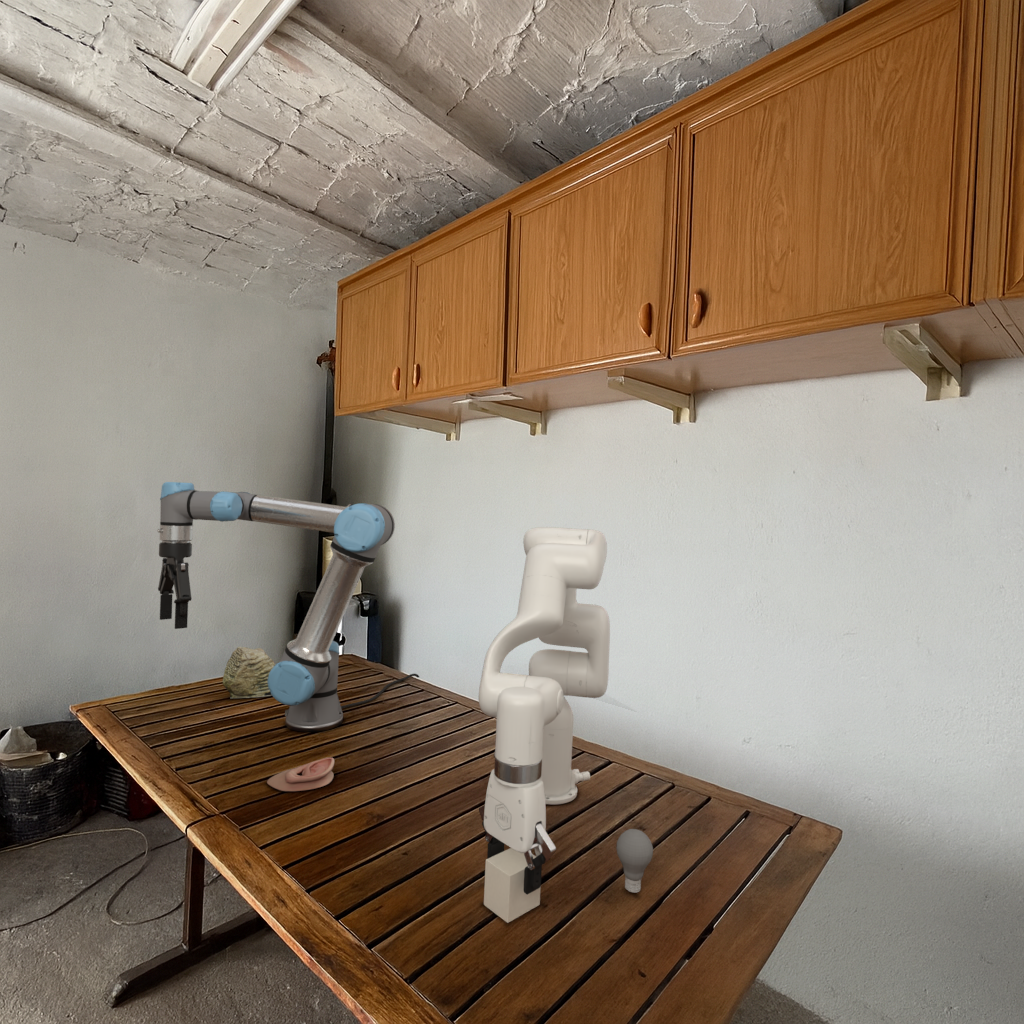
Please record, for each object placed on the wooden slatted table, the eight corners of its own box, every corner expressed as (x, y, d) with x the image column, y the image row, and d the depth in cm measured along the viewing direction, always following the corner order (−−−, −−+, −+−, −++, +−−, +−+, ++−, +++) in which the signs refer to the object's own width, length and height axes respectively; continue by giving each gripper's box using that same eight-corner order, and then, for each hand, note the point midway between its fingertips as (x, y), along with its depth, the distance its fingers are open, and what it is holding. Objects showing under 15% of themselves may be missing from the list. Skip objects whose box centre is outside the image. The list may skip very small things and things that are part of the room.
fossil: (218, 695, 195) (220, 647, 195) (278, 685, 208) (279, 640, 207) (228, 703, 189) (230, 653, 188) (289, 692, 201) (290, 645, 201)
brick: (483, 904, 101) (485, 859, 100) (515, 887, 105) (517, 844, 105) (507, 923, 96) (509, 876, 96) (539, 904, 101) (542, 859, 101)
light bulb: (610, 879, 108) (613, 822, 108) (644, 879, 109) (647, 822, 109) (619, 902, 102) (622, 840, 102) (655, 901, 103) (658, 840, 103)
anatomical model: (259, 769, 136) (288, 749, 147) (258, 787, 136) (288, 766, 147) (316, 777, 133) (341, 756, 145) (315, 796, 133) (340, 773, 145)
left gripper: (147, 538, 170) (144, 616, 171) (174, 545, 152) (171, 633, 152) (177, 538, 175) (174, 614, 176) (207, 545, 157) (204, 630, 157)
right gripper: (465, 755, 104) (460, 861, 104) (540, 795, 91) (535, 915, 92) (499, 745, 109) (494, 845, 109) (575, 780, 96) (569, 894, 97)
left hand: (173, 623), depth 164 cm, fingers open, 13 cm apart
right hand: (513, 876), depth 101 cm, fingers open, 8 cm apart
